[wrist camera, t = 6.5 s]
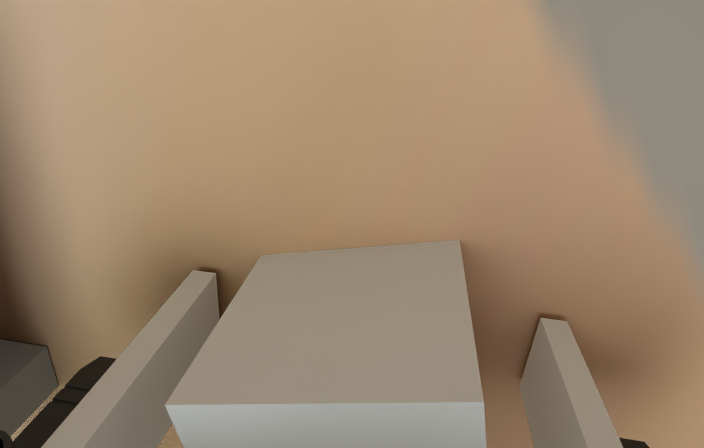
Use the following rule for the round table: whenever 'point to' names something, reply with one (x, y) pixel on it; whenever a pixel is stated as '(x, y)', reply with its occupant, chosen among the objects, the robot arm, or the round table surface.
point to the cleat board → (23, 382)
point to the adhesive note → (340, 355)
